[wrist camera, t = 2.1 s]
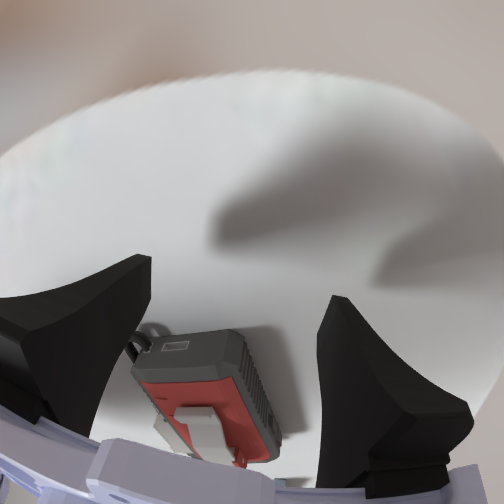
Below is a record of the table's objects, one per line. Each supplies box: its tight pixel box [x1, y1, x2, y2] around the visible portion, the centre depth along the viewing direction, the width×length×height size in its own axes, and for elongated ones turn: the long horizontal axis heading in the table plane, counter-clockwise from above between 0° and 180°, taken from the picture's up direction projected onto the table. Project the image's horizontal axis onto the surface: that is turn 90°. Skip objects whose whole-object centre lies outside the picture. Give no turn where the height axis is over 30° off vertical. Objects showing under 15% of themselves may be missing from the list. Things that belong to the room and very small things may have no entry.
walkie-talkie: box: [124, 329, 282, 469], centre depth 19 cm, size 9×4×20 cm
